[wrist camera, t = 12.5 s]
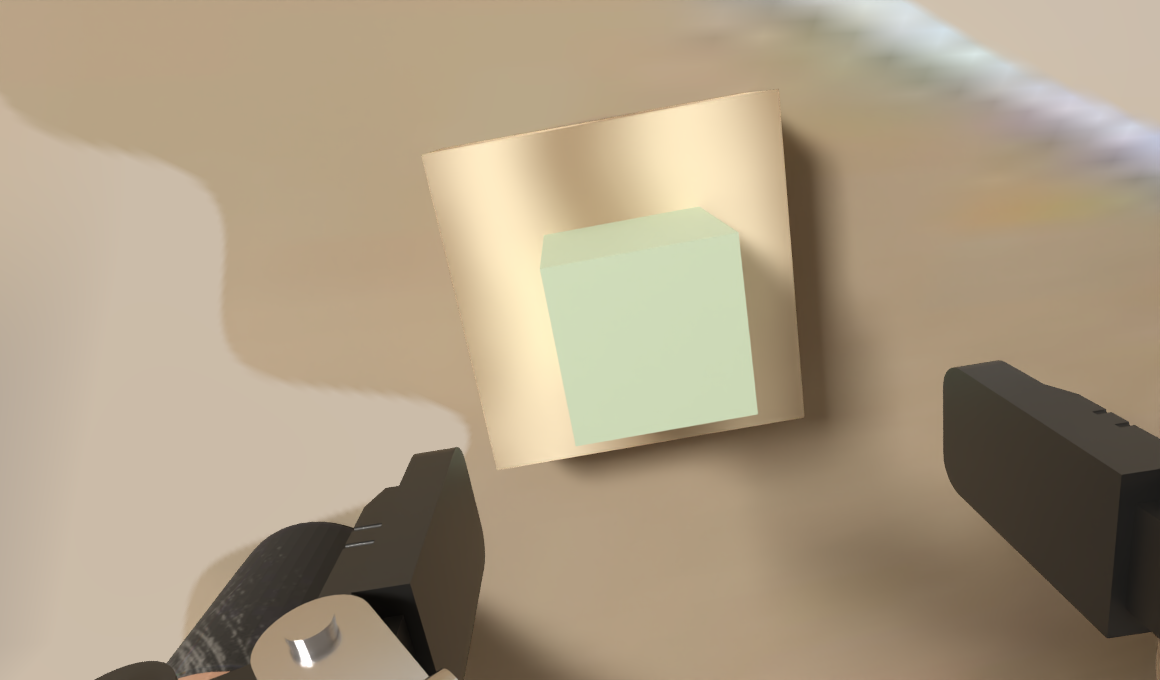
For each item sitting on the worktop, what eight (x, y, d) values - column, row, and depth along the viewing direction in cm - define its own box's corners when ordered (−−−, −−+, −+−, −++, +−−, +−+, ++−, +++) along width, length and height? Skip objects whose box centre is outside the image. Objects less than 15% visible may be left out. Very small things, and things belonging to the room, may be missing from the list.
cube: (699, 206, 22) (738, 232, 17) (717, 352, 23) (758, 414, 19) (543, 235, 22) (539, 268, 17) (572, 379, 23) (575, 446, 19)
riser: (744, 92, 25) (778, 89, 21) (770, 375, 28) (804, 417, 24) (442, 148, 25) (421, 154, 21) (505, 422, 28) (497, 469, 24)
